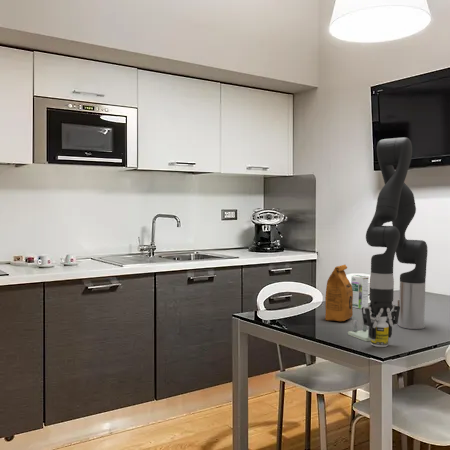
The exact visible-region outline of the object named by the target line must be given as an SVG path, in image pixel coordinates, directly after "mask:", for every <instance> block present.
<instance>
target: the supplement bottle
mask: <svg viewBox="0 0 450 450" xmlns="http://www.w3.org/2000/svg"><path fill="white" fill-rule="evenodd" d="M374 318H376V317H374ZM386 321H387V316H385V317H380V319H379V321H378V322H377V325H376V327H375V328H376V339H371V341H370V344H371V345H372V346H374V347H376V348H386V347H388V345H389V338H388V331H389V325H388V323H387V322H386Z"/></svg>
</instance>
